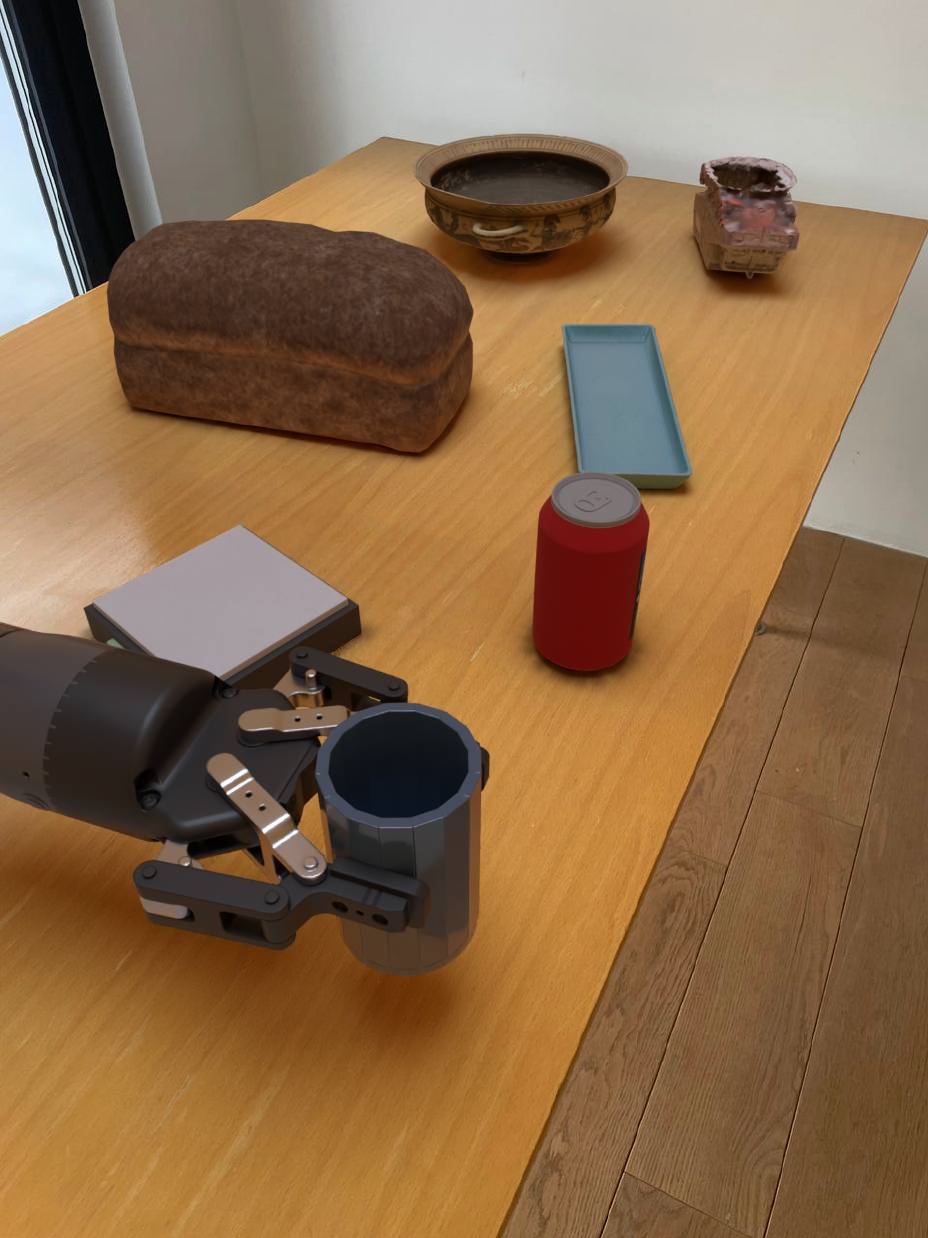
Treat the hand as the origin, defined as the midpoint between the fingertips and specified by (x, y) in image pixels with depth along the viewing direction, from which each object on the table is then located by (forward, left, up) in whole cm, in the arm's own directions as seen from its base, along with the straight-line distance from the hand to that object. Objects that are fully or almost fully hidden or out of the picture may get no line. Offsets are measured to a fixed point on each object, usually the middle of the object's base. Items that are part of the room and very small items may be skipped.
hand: (457, 834), depth 40 cm
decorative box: (+87, +39, -14) cm, 97 cm away
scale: (+8, +30, -14) cm, 34 cm away
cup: (-1, +2, -6) cm, 7 cm away
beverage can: (+24, +12, -14) cm, 30 cm away
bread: (+32, +52, -14) cm, 63 cm away
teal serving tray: (+50, +29, -14) cm, 60 cm away
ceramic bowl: (+72, +61, -14) cm, 96 cm away
